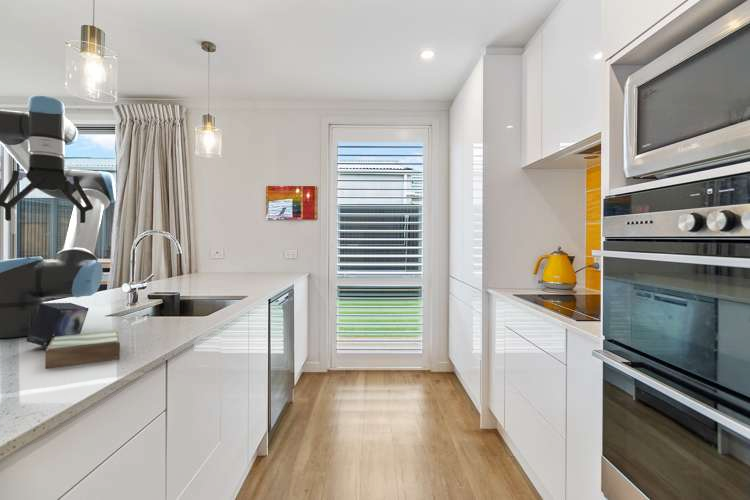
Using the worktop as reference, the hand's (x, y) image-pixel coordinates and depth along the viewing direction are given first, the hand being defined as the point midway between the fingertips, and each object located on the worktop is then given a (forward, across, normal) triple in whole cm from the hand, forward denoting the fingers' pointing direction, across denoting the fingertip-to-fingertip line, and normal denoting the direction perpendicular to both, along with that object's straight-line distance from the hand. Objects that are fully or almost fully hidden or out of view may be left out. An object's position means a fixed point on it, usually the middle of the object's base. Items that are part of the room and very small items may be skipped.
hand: (47, 234), depth 107 cm
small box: (+30, +1, -1) cm, 30 cm away
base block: (+30, +8, -17) cm, 36 cm away
